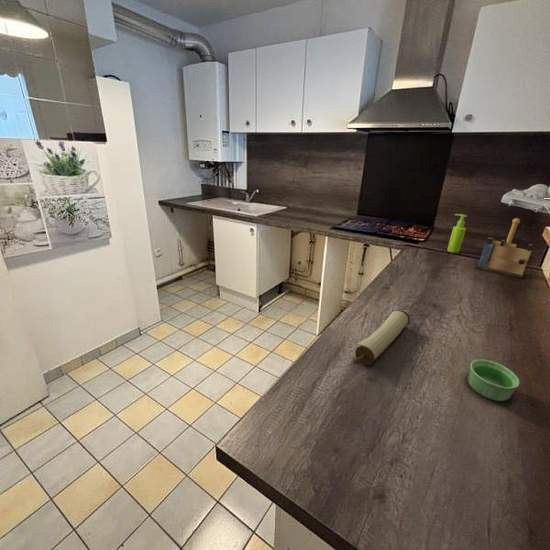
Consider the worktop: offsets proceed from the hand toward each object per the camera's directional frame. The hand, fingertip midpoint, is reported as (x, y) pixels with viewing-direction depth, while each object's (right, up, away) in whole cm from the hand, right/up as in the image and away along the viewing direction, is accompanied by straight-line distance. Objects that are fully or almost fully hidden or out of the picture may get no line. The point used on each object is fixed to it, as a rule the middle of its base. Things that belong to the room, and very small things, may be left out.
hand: (522, 207), depth 135 cm
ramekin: (-67, -57, -69) cm, 112 cm away
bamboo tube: (-86, -50, -55) cm, 114 cm away
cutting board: (-13, -30, -2) cm, 33 cm away
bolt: (-15, -18, -6) cm, 24 cm away
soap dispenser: (-18, -18, +25) cm, 36 cm away
